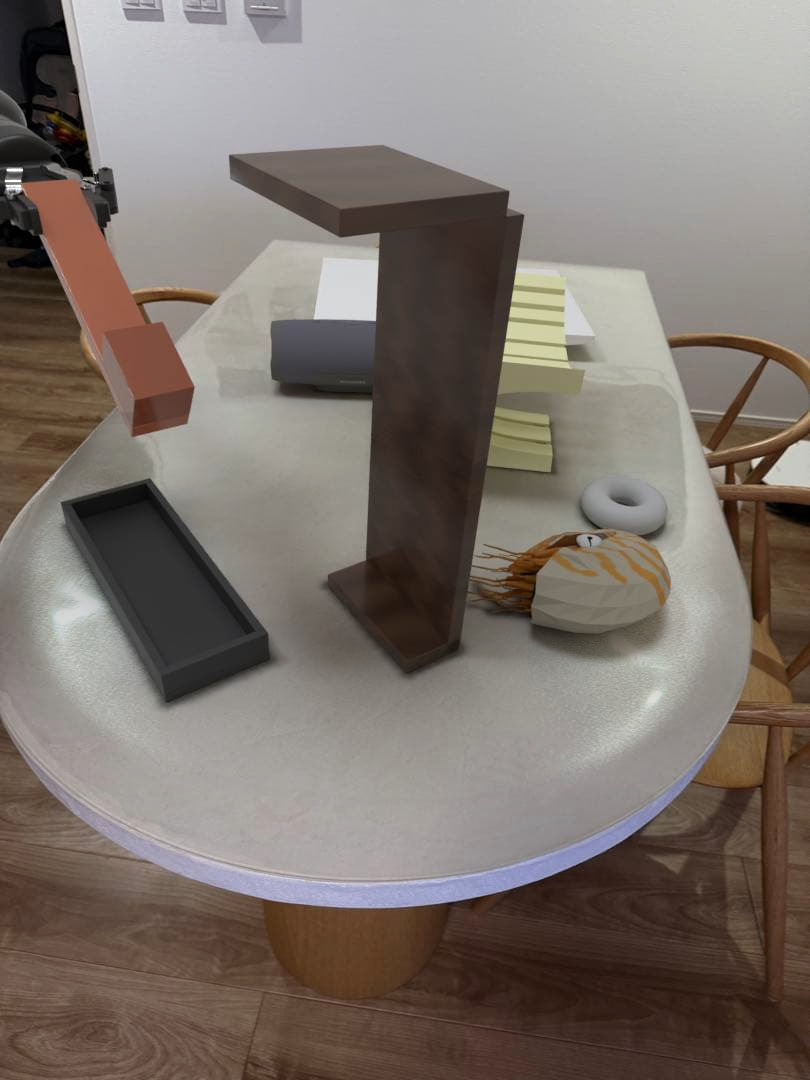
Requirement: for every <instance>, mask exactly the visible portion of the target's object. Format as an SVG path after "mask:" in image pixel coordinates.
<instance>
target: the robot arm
mask: <svg viewBox="0 0 810 1080" xmlns="http://www.w3.org/2000/svg"><path fill="white" fill-rule="evenodd" d="M92 175H93V176H83V173H81V172H80V171H79V170H77V169H73V168H69V166H68V163H66V161H65V159H64V158H63V157H62V155H61V154H60V153H59V152H58V150H57V149H55V147H54V146H53V145H51V143H48V141H46V140H44V139H43V138H42V137H40V136H39V135H38V134H36V133H35V132H33V131H32V130H30V129H29V128H28V124H27V120H26V116H25V114H24V112H23V110H22V109H21V107H20V106H19V105H18V103H17V102H16V100H14V99H13V98H12V97H11V96H10V95H8V93H6V92H4V91H3V90H1V89H0V225H2V224H3V220H9V221H10V223H11V225H12V226H17V227H18V228H19V229H20V230H23V231H28V232H29V233H30V234H31V235H32V236H39V235H42V234H43V229H42V225H41V220H40V215H39V211H38V208H37V206H36V205H35V204H34V203H33V202H32V201H31V200H30V199H29V198H28V197H27V196H25V195H22V192H21V187H20V183H28V182H41V181H55V180H68V179H76V180H77V182H78V184H79V186H80V188H81V190H82V193H83V195H84V197H85V199H86V201H87V203H88V205H89V207H90V210H91V212H92V214H93V216H94V218H95V220H96V222H97V224H98V226H99V228H100V230H101V229H107V228H108V223H111V221H112V216H114V215H117V214H119V204H118V197H117V191H116V190H117V189H116V184H115V177H114V172H113V169H112V168H111V167H107V166H102V167H100V168H98V169H97V171H93V173H92Z"/></svg>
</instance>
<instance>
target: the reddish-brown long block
mask: <svg viewBox="0 0 810 1080" xmlns="http://www.w3.org/2000/svg"><path fill="white" fill-rule="evenodd" d="M20 187H21V192H22V195H25V196H27V197H28V198H29V199H30V200H31V201H32V202H33V203H34V204H35V205H36V206H37V208H38V211H39V215H40V220H41V225H42V229H43V234H42V235H38V236H39V238H40V240H41V243H42V245H43V247H44V249H45V251H46V253H47V256H48V257H49V260H50V262H51V264H52V267H53V269H54V270H55V273H56V275H57V277H58V280H59V282H60V284H61V286H62V288H63V290H64V293H65V295H66V297H67V299H68V302H69V303H70V306H71V308H72V310H73V313H74V315H75V316H76V319H77V321H78V323H79V326H80V327H81V330H82V332H83V334H84V337H85V338H86V341H87V343H88V346H89V348H90V350H91V352H92V354H93V356H94V359H95V361H96V363H97V365H98V367H99V369H100V371H101V374H102V376H103V378H104V380H105V382H106V385H107V387H108V389H109V392H110V394H111V395H112V398H113V400H114V402H115V405H116V406H117V408H118V409H117V410H118V411H119V413H120V415H121V417H122V420H123V422H124V424H125V426H126V428H127V431H128V433H129V435H130V437H131V438H136V437H139V436H143V435H147V434H151V433H155V432H160V431H163V430H167V429H172V428H176V427H181V426H185V425H187V424H188V423H189V418H190V414H191V409H192V403H193V398H194V393H195V388H196V387H195V384H194V382H193V380H192V378H191V377H190V374H189V372H188V369H187V368H186V366H185V364H184V362H183V360H182V357H181V356H180V354H179V351H178V350H177V348H176V346H175V343H174V342H173V339H172V337H171V335H170V333H169V332H168V329H167V328H166V325H165V323H164V321H157V322H153V323H146V321H145V319H144V317H143V315H142V312H141V311H140V309H139V307H138V304H137V302H136V300H135V298H134V296H133V294H132V292H131V290H130V288H129V286H128V284H127V281H126V280H125V278H124V275H123V274H122V271H121V270H120V267H119V265H118V262H117V261H116V259H115V256H114V255H113V253H112V251H111V249H110V247H109V244H108V242H107V240H106V239H105V236H104V233H102V230H101V229H100V228H99V226H98V224H97V222H96V220H95V218H94V216H93V214H92V212H91V210H90V207H89V205H88V203H87V201H86V199H85V197H84V195H83V193H82V190H81V188H80V186H79V184H78V182H77V180H76V179H68V180H55V181H41V182H28V183H20Z"/></svg>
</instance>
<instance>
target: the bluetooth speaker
mask: <svg viewBox="0 0 810 1080" xmlns="http://www.w3.org/2000/svg"><path fill="white" fill-rule="evenodd" d="M375 330H376V321H367V320H334V319H314V318H313V319H311V318H309V319H299V318H298V319H280V320H279V319H278V320H277V319H276V320H271V323H270V330H269V331H270V342H271V343H270V344H271V345H270V347H271V348H270V349H271V351H270V352H271V353H270V354H271V357H270V376H271V380H272V381H275V382H276V381H277V382H282V383H291V384H304V385H314V386H315V387H316V389H317V390H319V391H323V392H334V393H335V392H336V393H373V377H374V354H375Z"/></svg>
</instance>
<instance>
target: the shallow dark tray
mask: <svg viewBox="0 0 810 1080" xmlns="http://www.w3.org/2000/svg"><path fill="white" fill-rule="evenodd" d="M60 506H61V510H62V514H63V518H64V522H65V526H66V528H67V530H68V532H69V533H70V535H71V537H72V539H73V540H74V543H75V544H76V546H77V547H78V549H79V551H80V553H81V555H82V556H83V559H84V560H85V562H86V564H87V565H88V567H89V569H90V571H91V572H92V575H93V576H94V578H95V579H96V581H97V583H98V585H99V587H100V589H101V590H102V592H103V594H104V595H105V597H106V599H107V602H108V603H109V604H110V606H111V607H112V609H113V611H114V614H115V615H116V617H117V618H118V620H119V622H120V624H121V625H122V627H123V629H124V631H125V632H126V634H127V637H128V638H129V639H130V641H131V643H132V645H133V647H134V649H135V650H136V652H137V653H138V655H139V657H140V659H141V661H142V662H143V664H144V666H145V668H146V670H147V671H148V673H149V675H150V677H151V678H152V680H153V682H154V684H155V685H156V687H157V689H158V690H159V692H160V694H161V696H162V697H163V700H164V702H166V703H168V702H170V701H172V700H175V699H177V698H179V697H182V696H184V695H187V694H188V693H191V692H194V691H196V690H199V689H200V688H203V687H206V686H208V685H211V684H213V683H215V682H218V681H220V680H222V679H224V678H227V677H229V676H232V675H234V674H236V673H239V672H241V671H244V670H246V669H249V668H251V667H253V666H255V665H256V666H257V665H258V664H260V663H263V662H265V661H268V660H270V643H269V633H268V631H267V630H266V629H265V627H264V626H263V625H262V623H261V622H260V621H259V620H258V618H257V617H256V616H255V614H254V613H253V612H252V610H251V609H250V608H249V606H248V605H247V604H246V603H245V601H244V600H243V599H242V597H241V596H240V595H239V593H238V592H237V590H236V589H235V588H234V587H233V585H232V584H231V583H230V581H229V580H228V579H227V577H226V576H225V575H224V573H223V572H222V571H221V570H220V568H219V567H218V565H217V564H216V563H215V561H214V560H213V559H212V557H211V556H210V554H208V552H207V551H206V550H205V548H204V547H203V546H202V545H201V543H200V542H199V540H198V539H197V537H196V536H195V535H194V534H193V532H192V531H191V530H190V528H189V527H188V526H187V525H186V523H185V522H184V521H183V519H182V518H181V517H180V516H179V514H178V513H177V511H176V510H175V509H174V508H173V506H172V505H171V503H170V502H169V501H168V499H167V498H166V497H165V496H164V494H163V493H162V492H161V490H160V489H159V488H158V486H157V485H156V483H154V481H153V480H152V478H151V477H148V478H145V479H141V480H138V481H134V482H130V483H126V484H123V485H119V486H115V487H112V488H108V489H104V490H100V491H97V492H94V493H90V494H86V495H81V496H78V497H75V498H70V499H67V500H63V501H60Z"/></svg>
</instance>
